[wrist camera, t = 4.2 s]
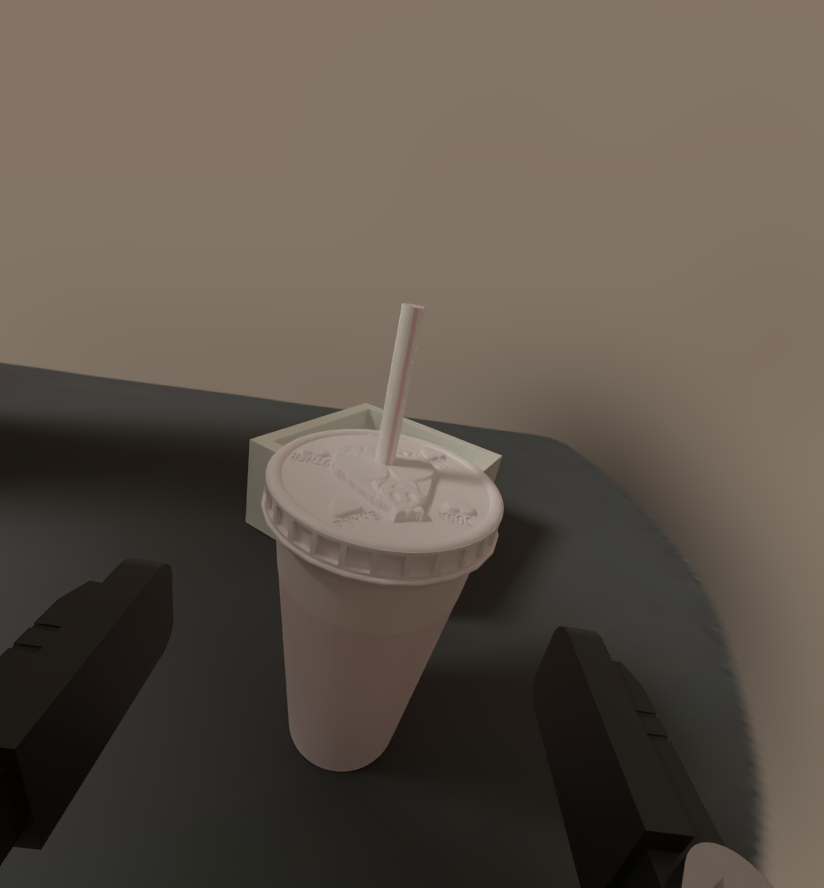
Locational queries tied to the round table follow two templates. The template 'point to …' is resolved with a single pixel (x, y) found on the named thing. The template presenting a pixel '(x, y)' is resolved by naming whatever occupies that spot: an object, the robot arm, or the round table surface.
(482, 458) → the box
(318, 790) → the round table surface
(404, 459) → the smoothie
